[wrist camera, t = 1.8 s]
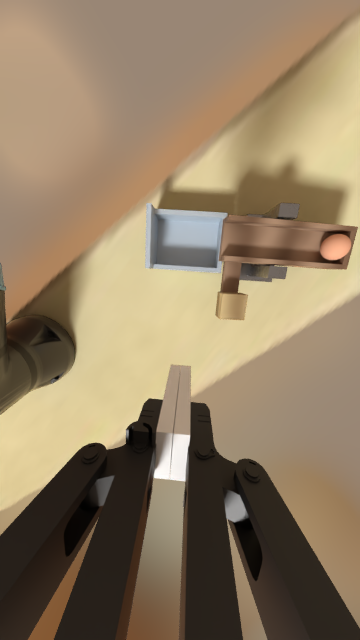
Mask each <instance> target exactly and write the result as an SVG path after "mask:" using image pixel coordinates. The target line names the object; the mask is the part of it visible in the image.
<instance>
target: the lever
mask: <svg viewBox="0 0 360 640" xmlns="http://www.w3.org/2000/svg"><path fill="white" fill-rule="evenodd" d="M357 229H358V227H354V226H343V225H333V224H323V223H312V222H302V221H292V220H281V219H271V218H260V217H250V216H240V215H228V216H227V217H226V218H225V219H223V225H222V234H221V243H220V252H219V261H224V266H223V274H222V283H221V291H220V292H218V297H217V306H216V316H217V317H218V318H219V319H230V320H244V318H245V311H246V305H247V298H248V295H246V294H243V293H238V286H239V278H240V271H241V264H242V263H252V264H265V265H279V266H293V267H307V268H321V269H347V266H348V262H349V258H350V255H351V251H352V247H353V244H354V240H355V236H356V232H357ZM335 234H343V235H346V236H347V237H349V239H350V240H351V248H350V250H349V252H348V253H347V254H346V255H345V256H344V257H342V258H340V259H337V260H328V259H325V258H324V257H323V256H322V255H321V253H320V247H321V244H322V243H323V241H324V240H325V239H326V238H328V237H329V236H332V235H335Z"/></svg>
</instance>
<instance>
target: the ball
mask: <svg viewBox="0 0 360 640" xmlns="http://www.w3.org/2000/svg"><path fill="white" fill-rule="evenodd" d="M350 248H351V240H350V239H349V237H347V236H346V235H343V234H335V235H332V236H329V237H328V238H326V239H325V240H324V241H323V243H322V244H321V247H320V253H321V255H322V256H323V257H324V258H325V259H328V260H337V259H340V258H342V257H344V256H345V255H346V254H347V253H348V252H349V250H350Z"/></svg>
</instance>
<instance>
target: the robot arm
mask: <svg viewBox="0 0 360 640" xmlns="http://www.w3.org/2000/svg"><path fill="white" fill-rule="evenodd" d="M5 290H6V287H5V286H4V281H3V274H2V266H1V263H0V415H1V414H2V413H3V412H4V411H6V410H7V409H8V408H9V407H11V406H12V405H13V404H15V403H16V402H17V401H18V400H20V399H21V398H22V397H23V396H25V395H26V394H27V393H29V392H30V391H32V390H35V389H38V388H41V387H44V386H47V385H49V384H52V383H54V382H56V381H58V380H59V379H61V378H62V377H63V376H64V375H65V374H67V373H68V372H69V370H70V369H71V367H72V366H73V363H74V359H75V349H74V345H73V342H72V340H71V338H70V336H69V334H68V333H67V332H66V331H65V329H64V328H63V327H62V326H60V325H59V324H58V323H57V322H55V321H53V320H51V319H49V318H47V317H44V316H39V315H29V316H24V317H21V318H18V319H15V320H12V321H10V322H9V323H7V324H6V313H5ZM180 368H181V371H180ZM190 400H191V366H182V365H171V367H170V371H169V376H168V380H167V385H166V389H165V394H164V399H163V400H159V399H148V400H147V401H146V402H145V403H144V405H143V408H142V411H141V413H140V416H139V419H138V421H136V422H133V423H132V424H130V425H129V426H128V428H127V429H126V444H125V445H123V446H121V447H118V448H115V449H109V450H106V448H105V446H104V445H102V444H101V443H91V444H88V445H86V446H84V447H82V448H81V449H80V450H79V451H78V452H77V453H76V454H75V455H74V456H73V457H72V458H71V459H70V460H69V461H68V462H67V464H66V465H65V466H64V467H63V468H62V469H61V470H60V471H59V472H58V473H57V474H56V476H55V477H54V478H53V479H52V480H51V481H50V482H49V483H48V484H47V485H46V486H45V488H44V489H43V490H42V491H41V492H40V493H39V494H38V495H37V496H36V497H35V498H34V500H33V501H32V502H31V503H30V504H29V505H28V506H27V507H26V508H25V509H24V510H23V512H22V513H21V514H20V515H19V516H18V517H17V518H16V519H15V520H14V522H13V523H11V525H10V526H9V527H8V528H7V529H6V530H5V531H4V532H3V533H2V534H1V536H0V640H28V638H29V636H30V635H31V633H32V631H33V629H34V628H35V625H36V624H37V623H38V621H39V619H40V617H41V616H42V614H43V612H44V611H45V609H46V607H47V605H48V604H49V602H50V600H51V599H52V597H53V595H54V593H55V592H56V590H57V588H58V587H59V585H60V583H61V581H62V580H63V578H64V576H65V574H66V573H67V571H68V569H69V568H70V566H71V564H72V562H73V561H74V559H75V557H76V556H77V554H78V552H79V550H80V549H81V547H82V545H83V544H84V542H85V540H86V538H87V537H88V535H89V533H90V532H91V530H92V528H93V526H94V525H95V523H96V521H97V520H98V522H97V524H96V527H95V530H94V533H93V535H92V538H91V540H90V543H89V546H88V549H87V551H86V554H85V557H84V559H83V562H82V565H81V568H80V570H79V573H78V576H77V578H76V581H75V584H74V586H73V589H72V592H71V595H70V597H69V600H68V603H67V605H66V608H65V611H64V613H63V616H62V619H61V622H60V624H59V627H58V630H57V632H56V635H55V638H54V640H126V637H127V632H128V626H129V619H130V614H131V609H132V603H133V597H134V592H135V586H136V579H137V574H138V569H139V563H140V557H141V552H142V545H143V540H144V534H145V528H146V523H147V517H148V511H149V506H150V500H151V494H152V483H153V477H154V478H161V479H169V477H170V479H171V480H178V481H185V492H184V501H183V507H184V515H183V541H182V542H183V543H182V567H181V594H180V621H179V623H180V624H179V640H243V636H242V630H241V622H240V614H239V607H238V599H237V592H236V585H235V578H234V570H233V563H232V555H231V548H230V541H229V533H228V526H227V519H228V521H229V525H230V528H231V531H232V533H233V537H234V540H235V543H236V546H237V548H238V552H239V554H240V558H241V561H242V564H243V567H244V570H245V573H246V576H247V579H248V582H249V585H250V587H251V591H252V594H253V597H254V600H255V603H256V606H257V609H258V612H259V615H260V618H261V621H262V624H263V627H264V630H265V633H266V636H267V639H268V640H360V628H359V627H358V625H357V623H356V622H355V620H354V618H353V617H352V615H351V613H350V612H349V610H348V609H347V607H346V605H345V603H344V602H343V600H342V598H341V596H340V595H339V593H338V591H337V590H336V588H335V586H334V585H333V583H332V581H331V580H330V578H329V576H328V575H327V573H326V571H325V570H324V568H323V566H322V565H321V563H320V561H319V560H318V558H317V556H316V555H315V553H314V551H313V550H312V548H311V546H310V545H309V543H308V541H307V540H306V538H305V536H304V534H303V533H302V531H301V529H300V528H299V526H298V524H297V523H296V521H295V519H294V518H293V516H292V514H291V513H290V511H289V509H288V508H287V506H286V504H285V503H284V501H283V499H282V498H281V496H280V494H279V493H278V491H277V489H276V488H275V486H274V484H273V482H272V481H271V479H270V477H269V476H268V474H267V472H266V471H265V470H264V468H263V467H262V466H261V465H260V464H258V463H257V462H256V461H253V460H251V459H242V460H239V461H238V462H237V463H234V462H232V461H229V460H227V459H225V458H223V457H222V456H221V455H219V453H218V452H217V451H216V449H215V446H214V442H213V433H212V425H211V418H210V410H209V408H208V407H207V406H206V404H204V403H194V402H191V401H190ZM171 458H172V459H171ZM170 468H171V472H170ZM98 518H99V519H98Z"/></svg>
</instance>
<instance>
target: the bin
mask: <svg viewBox="0 0 360 640" xmlns="http://www.w3.org/2000/svg"><path fill="white" fill-rule="evenodd" d="M227 214H228V213H221V212H204V211H187V210H170V209H154V207H153V205H152V203H147V211H146V260H145V268H154V269H169V270H184V271H199V272H213V273H221V267H222V261H219V252H220V243H221V234H222V225H223V219H225V218H226V217H227Z"/></svg>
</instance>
